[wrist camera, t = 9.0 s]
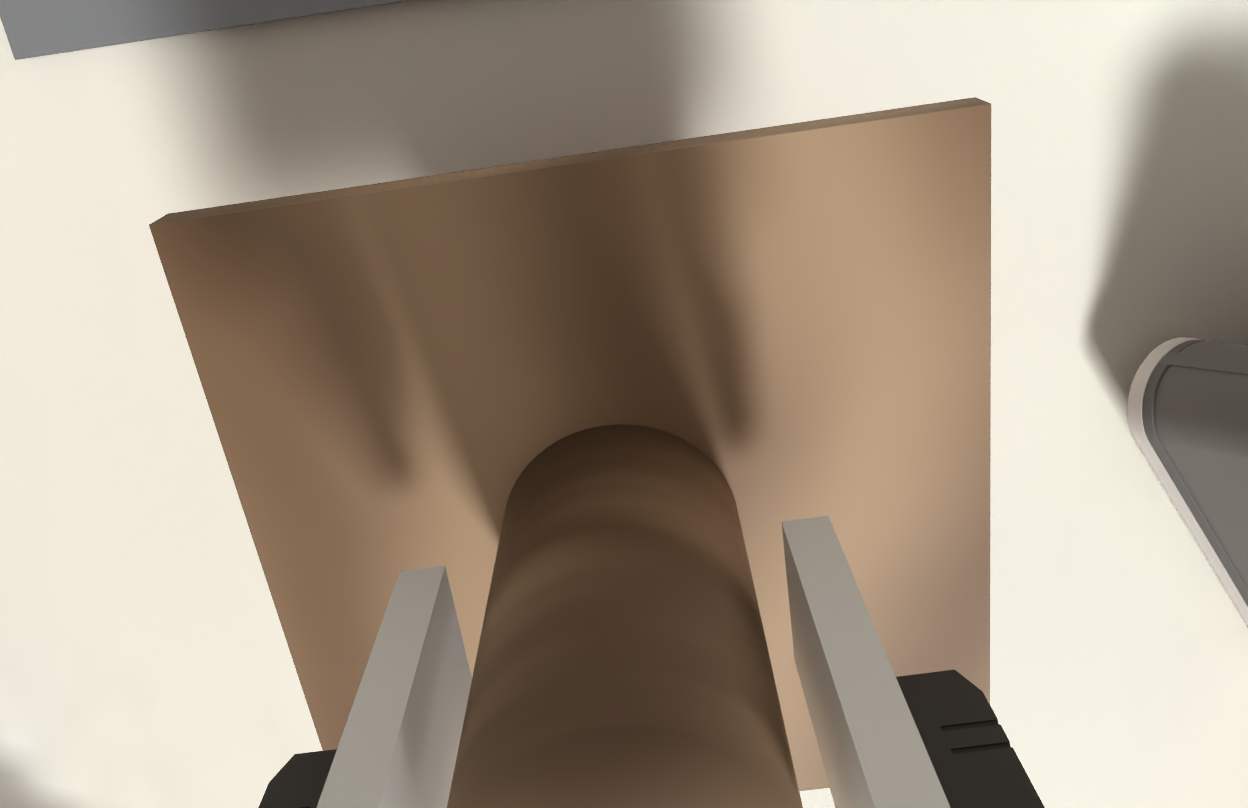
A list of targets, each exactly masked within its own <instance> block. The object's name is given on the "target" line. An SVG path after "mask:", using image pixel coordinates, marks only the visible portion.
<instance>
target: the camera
mask: <svg viewBox="0 0 1248 808" xmlns="http://www.w3.org/2000/svg"><path fill="white" fill-rule="evenodd" d="M1127 416H1128V423H1129V428H1130V431H1131V434H1132V436H1133V438H1134V440H1135V441H1136V443H1137V445H1138V446H1139V448H1140V450H1141V451H1142V453H1143V455H1144V456H1145V458H1146V460H1147V461H1148V463H1149V465H1150V466H1151V468H1152V470H1153V471H1154V473H1155V474H1156V476H1157V478H1158V479H1159V481H1160V483H1161V484H1162V486H1163V488H1164V489H1165V491H1166V493H1167V494H1168V496H1169V498H1170V499H1171V501H1172V503H1173V504H1174V506H1175V508H1176V509H1177V511H1178V513H1179V514H1180V516H1181V517H1182V519H1183V521H1184V522H1185V524H1186V526H1187V527H1188V529H1189V531H1190V532H1191V534H1192V536H1193V537H1194V539H1195V541H1196V542H1197V544H1198V546H1199V547H1200V549H1201V551H1202V552H1203V554H1204V555H1205V557H1206V559H1207V560H1208V562H1209V564H1210V565H1211V567H1212V569H1213V570H1214V572H1215V574H1216V575H1217V577H1218V579H1219V580H1220V582H1221V584H1222V585H1223V587H1224V589H1225V590H1226V592H1227V594H1228V595H1229V597H1230V598H1231V600H1232V602H1233V603H1234V605H1235V607H1236V608H1237V610H1238V612H1239V613H1240V615H1241V617H1242V618H1243V620H1244V622H1245V623H1246V625H1247V627H1248V344H1237V343H1227V342H1216V341H1207V340H1204V339H1196V338H1186V337H1180V338H1174V339H1170V340H1168V341H1165V342H1164V343H1162V344H1160V345H1159V346H1157V347H1156V348H1155V349H1154V350H1153V351H1152V352H1150V353H1149V354H1148V356H1147V357H1146V358H1145V359H1144V361H1143V362H1142V364H1141V365H1140V367H1139V368H1138V370H1137V372H1136V374H1135V376H1134V379H1133V381H1132V384H1131V387H1130V391H1129V396H1128V404H1127Z"/></svg>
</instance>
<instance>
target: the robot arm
mask: <svg viewBox="0 0 1248 808" xmlns="http://www.w3.org/2000/svg"><path fill="white" fill-rule="evenodd" d="M781 522H782V533H783V543H784V554H785V565H786V575H787V586H788V596H789V607H790V618H791V628H792V639H793V650H794V660H795V664H796V667H797V671H798V675H799V678H800V682H801V685H802V689H803V693H804V696H805V700H806V703H807V707H808V710H809V714H810V718H811V721H812V725H813V728H814V732H815V736H816V739H817V743H818V746H819V750H820V754H821V757H822V761H823V764H824V768H825V771H826V775H827V779H828V782H829V786H830V789H831V793H832V797H833V800H834V804H835V807H836V808H1044V806H1043V804H1042V802H1041V800H1040V798H1039V796H1038V794H1037V792H1036V791H1035V789H1034V787H1033V785H1032V783H1031V781H1030V779H1029V777H1028V776H1027V774H1026V772H1025V770H1024V768H1023V766H1022V764H1021V762H1020V761H1019V759H1018V757H1017V755H1016V753H1015V751H1014V749H1013V747H1012V748H1011V747H1010V743H1009V740H1008V738H1007V736H1006V734H1005V732H1004V731H1003V729H1002V727H1001V725H999V724H998V720H997V717H996V716H995V714H994V712H993V710H992V708H991V706H990V704H989V702H988V701H987V699H986V697H985V695H984V693H983V691H981V690H980V689H979V688H978V687H976V686H975V685H974V684H972V683H971V682H970V681H969V680H967V679H966V678H965V677H964V676H962V675H961V674H960V673H959V672H957V671H956V670H955V669H954V670H946V671H938V672H930V673H922V674H914V675H906V676H898V677H896V676H895V674H894V672H893V669H892V667H891V664H890V662H889V660H888V657H887V655H886V652H885V650H884V648H883V645H882V643H881V640H880V638H879V636H878V633H877V631H876V629H875V626H874V624H873V621H872V619H871V617H870V614H869V612H868V609H867V607H866V605H865V602H864V600H863V597H862V595H861V593H860V590H859V588H858V585H857V583H856V581H855V578H854V576H853V574H852V571H851V569H850V566H849V564H848V562H847V559H846V557H845V554H844V552H843V550H842V547H841V545H840V542H839V540H838V538H837V535H836V533H835V531H834V528H833V526H832V523H831V521H830V519H829V516H828V515H827V516H819V517H812V518H804V519H796V520H789V521H781ZM471 682H472V677H471V672H470V668H469V664H468V660H467V656H466V651H465V647H464V643H463V639H462V635H461V630H460V626H459V622H458V618H457V613H456V609H455V605H454V601H453V597H452V592H451V588H450V584H449V580H448V576H447V571H446V567H445V566H438V567H430V568H423V569H415V570H408V571H400V572H399V575H398V578H397V581H396V584H395V586H394V589H393V592H392V595H391V598H390V601H389V603H388V606H387V609H386V612H385V615H384V618H383V620H382V623H381V626H380V629H379V632H378V635H377V637H376V640H375V643H374V646H373V649H372V652H371V655H370V657H369V660H368V663H367V666H366V669H365V672H364V674H363V677H362V680H361V683H360V686H359V689H358V691H357V694H356V697H355V700H354V703H353V706H352V708H351V711H350V714H349V717H348V720H347V723H346V725H345V728H344V731H343V734H342V737H341V740H340V742H339V745H338V748H337V749H334V750H326V751H318V752H310V753H302V754H295V755H294V756H293V757H292V758H291V759H290V760H289V761H288V762H287V764H286V765H285V766H284V767H283V768H282V769H281V770H280V771H279V772H278V773H277V775H276V776H275V777H274V778H273V779H272V780H271V781H270V782H269V784H268V787H267V789H266V791H265V794H264V796H263V798H262V801H261V803H260V806H259V808H447V804H448V799H449V794H450V789H451V784H452V779H453V773H454V768H455V763H456V758H457V753H458V748H459V743H460V738H461V733H462V728H463V723H464V717H465V712H466V707H467V702H468V697H469V692H470V687H471Z"/></svg>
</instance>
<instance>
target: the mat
mask: <svg viewBox="0 0 1248 808" xmlns="http://www.w3.org/2000/svg"><path fill="white" fill-rule="evenodd" d="M399 1H406V0H0V18H1V20H2V23H3V26H4V29H5V32H6V35H7V38H8V41H9V44H10V46H11V49H12V52H13V55H14V58H15V60H17V59H25V58H32V57H38V56H45V55H51V54H58V53H64V52H71V51H78V50H84V49H91V48H97V47H104V46H110V45H117V44H124V43H130V42H137V41H143V40H150V39H156V38H163V37H170V36H176V35H183V34H189V33H196V32H202V31H209V30H215V29H222V28H229V27H235V26H242V25H248V24H255V23H261V22H268V21H275V20H281V19H288V18H294V17H301V16H307V15H314V14H320V13H327V12H334V11H340V10H347V9H353V8H360V7H366V6H373V5H380V4H386V3H393V2H399Z"/></svg>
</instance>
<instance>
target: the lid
mask: <svg viewBox="0 0 1248 808" xmlns="http://www.w3.org/2000/svg"><path fill="white" fill-rule="evenodd" d="M149 226H150V229H151V232H152V235H153V238H154V241H155V244H156V247H157V250H158V254H159V257H160V260H161V263H162V266H163V269H164V272H165V275H166V278H167V281H168V284H169V287H170V290H171V293H172V296H173V299H174V302H175V305H176V308H177V311H178V314H179V317H180V320H181V323H182V326H183V329H184V332H185V335H186V338H187V341H188V344H189V347H190V350H191V353H192V356H193V359H194V362H195V365H196V368H197V371H198V374H199V377H200V380H201V383H202V386H203V390H204V393H205V396H206V399H207V402H208V405H209V408H210V411H211V414H212V417H213V420H214V423H215V426H216V429H217V432H218V435H219V438H220V441H221V444H222V447H223V450H224V453H225V456H226V459H227V462H228V465H229V468H230V471H231V474H232V477H233V480H234V483H235V486H236V489H237V492H238V495H239V498H240V501H241V504H242V507H243V510H244V513H245V516H246V519H247V522H248V526H249V529H250V532H251V535H252V538H253V541H254V544H255V547H256V550H257V553H258V556H259V559H260V562H261V565H262V568H263V571H264V574H265V577H266V580H267V583H268V586H269V589H270V592H271V595H272V598H273V601H274V604H275V607H276V610H277V613H278V616H279V619H280V622H281V625H282V628H283V631H284V634H285V637H286V640H287V643H288V646H289V649H290V652H291V655H292V659H293V662H294V665H295V668H296V671H297V674H298V677H299V680H300V683H301V686H302V689H303V692H304V695H305V698H306V701H307V704H308V707H309V710H310V713H311V716H312V719H313V722H314V725H315V728H316V731H317V734H318V737H319V740H320V743H321V746H322V749H323V751H326V750H334V749H337V748H338V745H339V742H340V740H341V737H342V734H343V731H344V728H345V725H346V723H347V720H348V717H349V714H350V711H351V708H352V706H353V703H354V700H355V697H356V694H357V691H358V689H359V686H360V683H361V680H362V677H363V674H364V672H365V669H366V666H367V663H368V660H369V657H370V655H371V652H372V649H373V646H374V643H375V640H376V637H377V635H378V632H379V629H380V626H381V623H382V620H383V618H384V615H385V612H386V609H387V606H388V603H389V601H390V598H391V595H392V592H393V589H394V586H395V584H396V581H397V578H398V575H399V572H400V571H408V570H415V569H423V568H430V567H438V566H445V567H446V571H447V576H448V580H449V584H450V588H451V592H452V597H453V601H454V605H455V609H456V613H457V618H458V622H459V626H460V630H461V635H462V639H463V643H464V647H465V651H466V656H467V660H468V664H469V668H470V672H471V677H472V682H471V687H470V692H469V697H468V702H467V707H466V712H465V717H464V723H463V728H462V733H461V738H460V743H459V748H458V753H457V758H456V763H455V768H454V773H453V779H452V784H451V789H450V794H449V799H448V804H447V808H803V807H802V803H801V798H800V793H799V791H804V790H812V789H821V788H830V786H829V782H828V779H827V775H826V771H825V768H824V764H823V761H822V757H821V754H820V750H819V746H818V743H817V739H816V736H815V732H814V728H813V725H812V721H811V718H810V714H809V710H808V707H807V703H806V700H805V696H804V693H803V689H802V685H801V682H800V678H799V675H798V671H797V667H796V664H795V660H794V650H793V639H792V628H791V618H790V607H789V596H788V586H787V575H786V565H785V554H784V543H783V533H782V522H781V521H789V520H796V519H804V518H812V517H819V516H827V515H828V516H829V519H830V521H831V523H832V526H833V528H834V531H835V533H836V535H837V538H838V540H839V542H840V545H841V547H842V550H843V552H844V554H845V557H846V559H847V562H848V564H849V566H850V569H851V571H852V574H853V576H854V578H855V581H856V583H857V585H858V588H859V590H860V593H861V595H862V597H863V600H864V602H865V605H866V607H867V609H868V612H869V614H870V617H871V619H872V621H873V624H874V626H875V629H876V631H877V633H878V636H879V638H880V640H881V643H882V645H883V648H884V650H885V652H886V655H887V657H888V660H889V662H890V664H891V667H892V669H893V672H894V674H895V676H896V677H898V676H906V675H914V674H922V673H930V672H938V671H946V670H954V669H955V670H956V671H957V672H959V673H960V674H961V675H962V676H964V677H965V678H966V679H967V680H969V681H970V682H971V683H972V684H974V685H975V686H976V687H978V688H979V689H980V690H981V691H983V693H984V695H985V697H986V699H987V701H988V702H989V704H990V347H991V104H990V103H988V102H985V101H983V100H980V99H978V98H968V99H961V100H954V101H947V102H940V103H933V104H926V105H919V106H912V107H905V108H898V109H891V110H885V111H878V112H871V113H864V114H857V115H850V116H843V117H836V118H829V119H822V120H815V121H808V122H801V123H794V124H787V125H781V126H774V127H767V128H760V129H753V130H746V131H739V132H732V133H725V134H718V135H711V136H704V137H697V138H690V139H683V140H677V141H670V142H663V143H656V144H649V145H642V146H635V147H628V148H621V149H614V150H607V151H600V152H593V153H586V154H579V155H573V156H566V157H559V158H552V159H545V160H538V161H531V162H524V163H517V164H510V165H503V166H496V167H489V168H482V169H475V170H469V171H462V172H455V173H448V174H441V175H434V176H427V177H420V178H413V179H406V180H399V181H392V182H385V183H378V184H371V185H364V186H358V187H351V188H344V189H337V190H330V191H323V192H316V193H309V194H302V195H295V196H288V197H281V198H274V199H267V200H260V201H254V202H247V203H240V204H233V205H226V206H219V207H212V208H205V209H198V210H191V211H184V212H177V213H170V214H167V215H165V216H163V217H162V218H160V219H158V220H157V221H155V222H153V223H152V224H150V225H149Z"/></svg>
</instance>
